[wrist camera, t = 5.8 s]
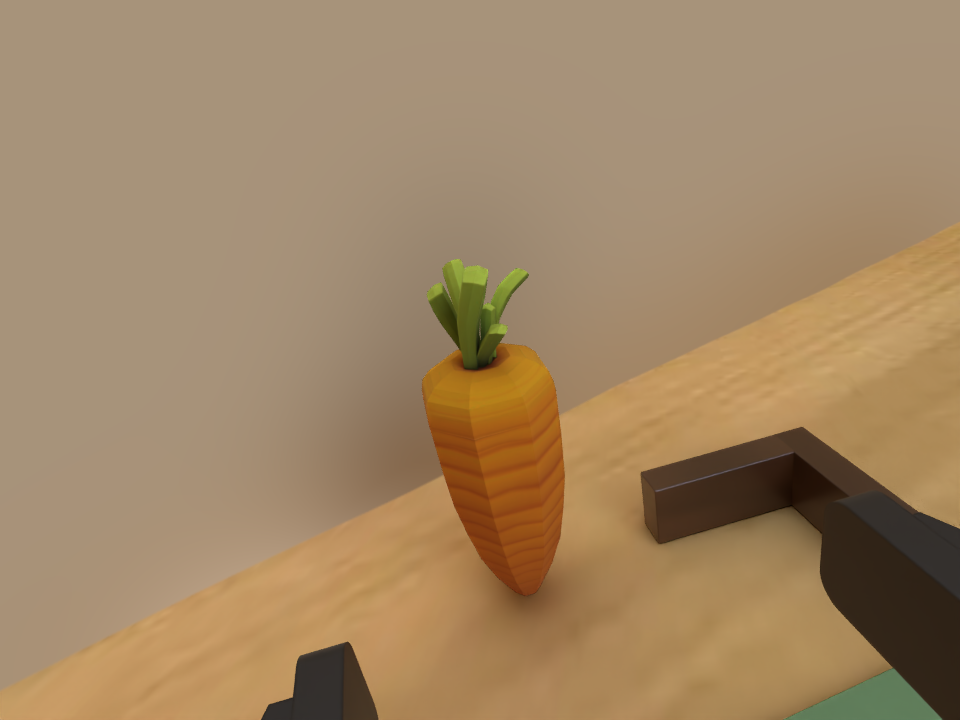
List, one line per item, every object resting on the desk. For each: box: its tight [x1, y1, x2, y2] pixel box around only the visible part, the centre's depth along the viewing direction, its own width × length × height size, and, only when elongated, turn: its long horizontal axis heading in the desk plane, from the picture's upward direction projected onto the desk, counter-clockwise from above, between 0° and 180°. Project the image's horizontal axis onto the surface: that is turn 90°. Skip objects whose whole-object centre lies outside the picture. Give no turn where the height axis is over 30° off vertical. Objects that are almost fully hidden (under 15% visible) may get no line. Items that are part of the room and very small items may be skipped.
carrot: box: [422, 259, 565, 596], centre depth 23 cm, size 5×5×15 cm
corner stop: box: [641, 427, 918, 543], centre depth 24 cm, size 8×8×3 cm
